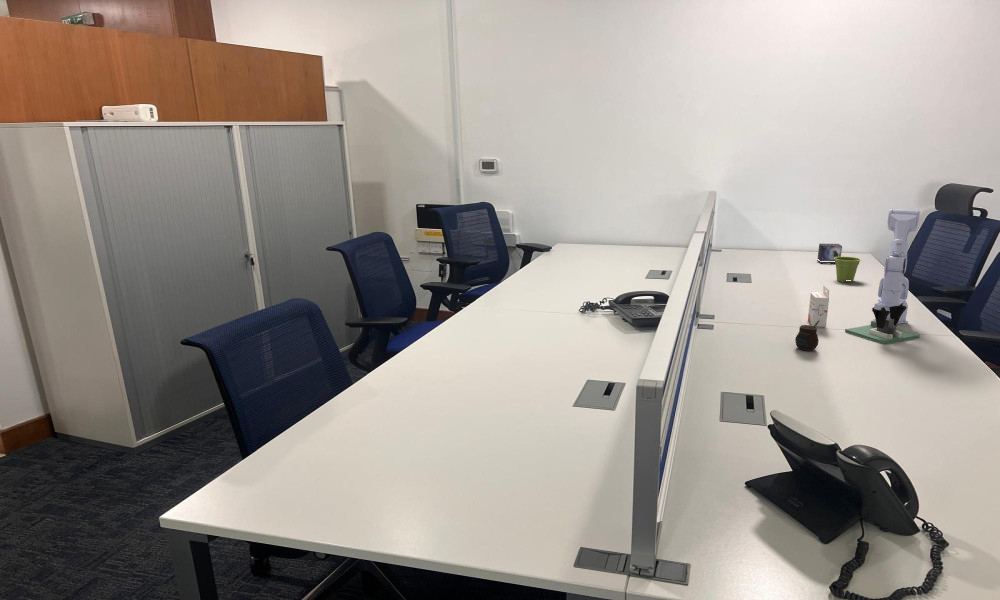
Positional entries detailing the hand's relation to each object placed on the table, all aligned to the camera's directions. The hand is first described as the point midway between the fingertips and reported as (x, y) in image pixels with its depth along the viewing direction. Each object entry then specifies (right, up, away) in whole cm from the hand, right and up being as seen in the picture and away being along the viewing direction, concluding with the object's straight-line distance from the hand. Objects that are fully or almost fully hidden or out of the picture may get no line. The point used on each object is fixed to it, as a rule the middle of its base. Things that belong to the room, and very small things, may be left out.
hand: (886, 326), depth 233 cm
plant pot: (+31, +19, +87) cm, 94 cm away
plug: (0, -3, +1) cm, 3 cm away
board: (+1, -3, +4) cm, 6 cm away
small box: (+44, +30, +129) cm, 140 cm away
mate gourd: (-33, -8, -9) cm, 35 cm away
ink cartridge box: (-16, 0, +19) cm, 25 cm away
